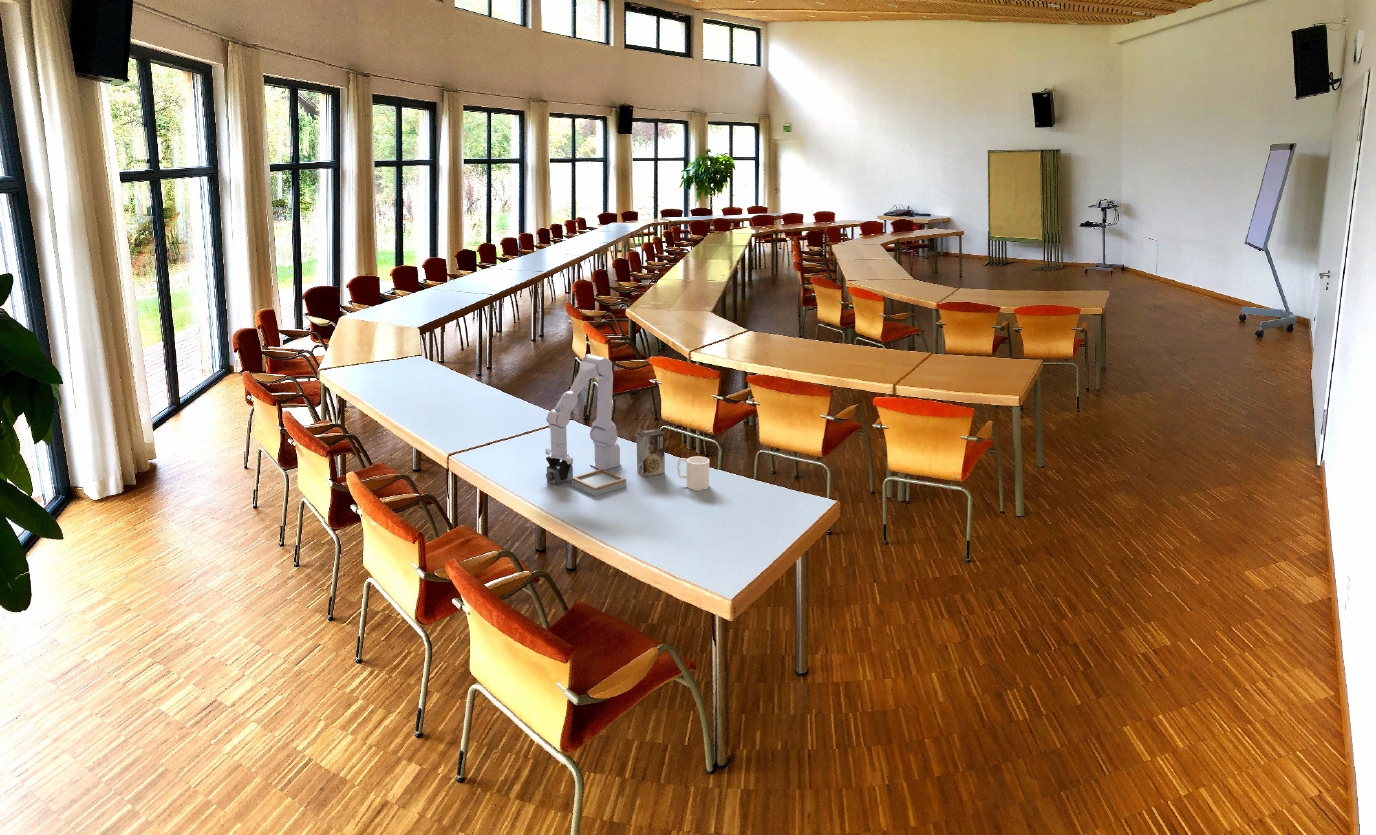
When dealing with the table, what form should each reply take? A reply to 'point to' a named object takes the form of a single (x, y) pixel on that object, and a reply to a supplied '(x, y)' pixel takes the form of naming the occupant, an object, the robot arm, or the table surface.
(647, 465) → the coffee box
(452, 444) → the table surface
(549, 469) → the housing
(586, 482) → the square tray
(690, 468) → the cup
